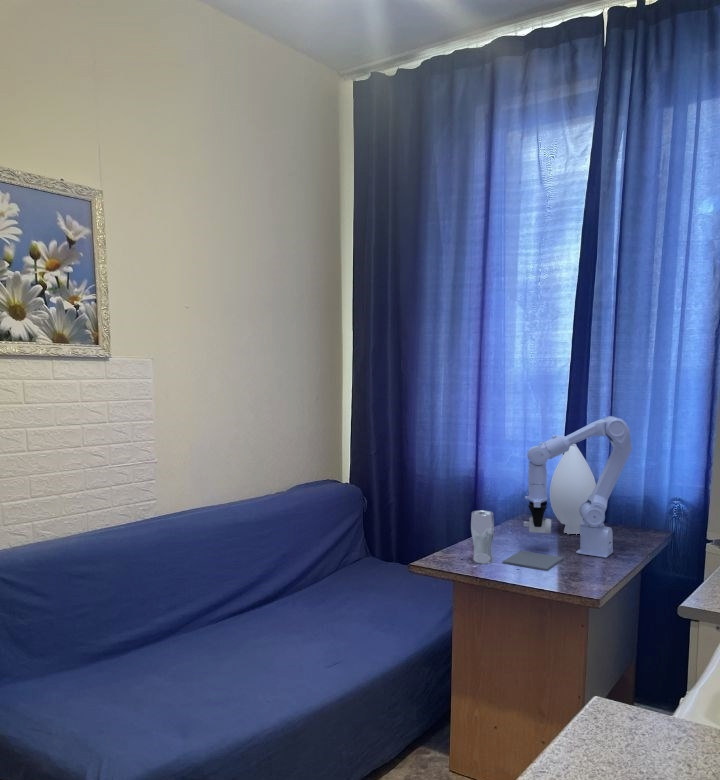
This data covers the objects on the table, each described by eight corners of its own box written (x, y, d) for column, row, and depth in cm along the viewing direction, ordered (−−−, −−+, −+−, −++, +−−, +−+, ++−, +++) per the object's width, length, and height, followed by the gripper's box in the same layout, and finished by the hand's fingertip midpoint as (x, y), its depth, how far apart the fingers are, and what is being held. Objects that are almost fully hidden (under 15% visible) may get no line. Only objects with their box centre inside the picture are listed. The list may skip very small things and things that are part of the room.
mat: (563, 559, 198) (563, 557, 198) (547, 571, 187) (547, 569, 187) (520, 552, 207) (520, 550, 207) (502, 563, 195) (502, 561, 195)
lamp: (541, 533, 231) (540, 435, 230) (565, 525, 241) (564, 432, 240) (582, 541, 219) (582, 438, 218) (605, 532, 230) (604, 435, 229)
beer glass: (467, 559, 200) (466, 511, 200) (486, 556, 203) (486, 509, 202) (479, 565, 194) (478, 516, 193) (498, 562, 196) (498, 513, 196)
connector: (551, 530, 208) (551, 518, 208) (550, 533, 205) (551, 521, 205) (523, 528, 211) (524, 516, 210) (523, 531, 207) (523, 519, 207)
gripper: (525, 479, 215) (526, 519, 216) (523, 486, 201) (524, 529, 202) (547, 480, 213) (548, 520, 214) (547, 487, 199) (547, 531, 200)
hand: (538, 525), depth 208 cm, fingers closed on connector, 3 cm apart
